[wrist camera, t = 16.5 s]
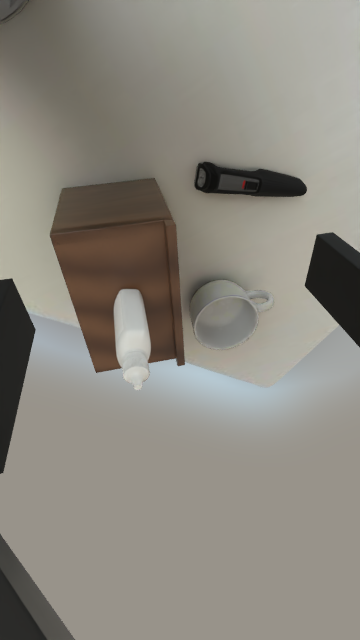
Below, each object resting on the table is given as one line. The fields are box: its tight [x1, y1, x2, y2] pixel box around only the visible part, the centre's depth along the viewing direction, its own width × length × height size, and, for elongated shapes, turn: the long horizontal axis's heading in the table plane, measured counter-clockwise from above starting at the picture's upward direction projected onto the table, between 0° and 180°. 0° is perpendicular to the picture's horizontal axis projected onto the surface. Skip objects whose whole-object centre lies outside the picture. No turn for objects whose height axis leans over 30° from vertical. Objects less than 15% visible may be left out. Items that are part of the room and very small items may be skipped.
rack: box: [50, 178, 185, 373], centre depth 42 cm, size 20×12×16 cm, turn 3°
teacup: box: [189, 280, 274, 350], centre depth 54 cm, size 14×11×8 cm
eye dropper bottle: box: [114, 289, 151, 390], centre depth 33 cm, size 4×6×12 cm
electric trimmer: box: [195, 162, 307, 197], centre depth 44 cm, size 4×16×3 cm, turn 81°
